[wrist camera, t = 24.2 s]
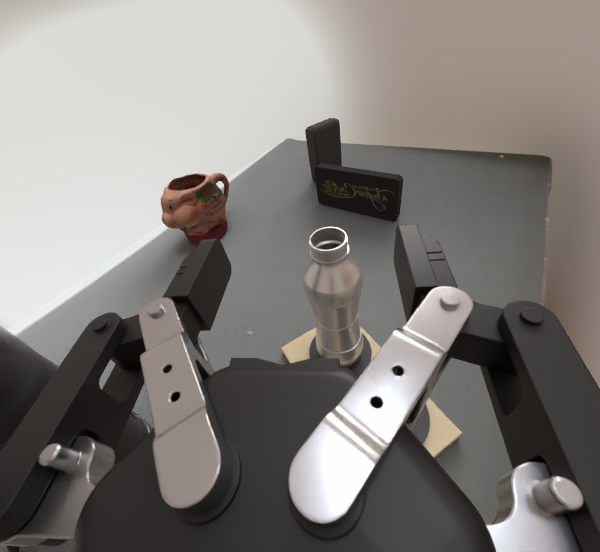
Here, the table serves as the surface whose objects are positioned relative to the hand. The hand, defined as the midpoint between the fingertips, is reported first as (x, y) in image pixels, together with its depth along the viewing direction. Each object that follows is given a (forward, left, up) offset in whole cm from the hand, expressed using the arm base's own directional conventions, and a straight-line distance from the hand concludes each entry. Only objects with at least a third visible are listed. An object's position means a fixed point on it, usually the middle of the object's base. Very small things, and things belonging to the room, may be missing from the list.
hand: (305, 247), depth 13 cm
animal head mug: (+1, +57, -30) cm, 65 cm away
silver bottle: (+6, +9, -28) cm, 30 cm away
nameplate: (+33, +39, -30) cm, 59 cm away
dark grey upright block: (+38, +59, -30) cm, 76 cm away
